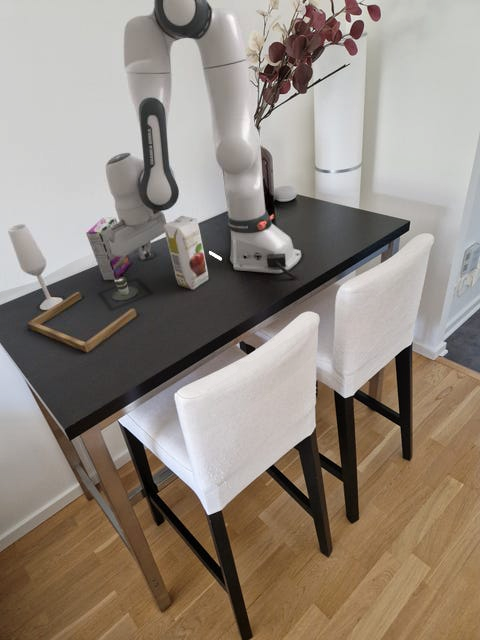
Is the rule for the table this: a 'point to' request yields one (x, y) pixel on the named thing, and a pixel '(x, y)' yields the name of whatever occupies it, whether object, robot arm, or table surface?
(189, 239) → the juice carton
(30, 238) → the champagne flute
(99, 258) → the candy bar box
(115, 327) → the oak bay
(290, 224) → the table surface
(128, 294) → the grey round stand
